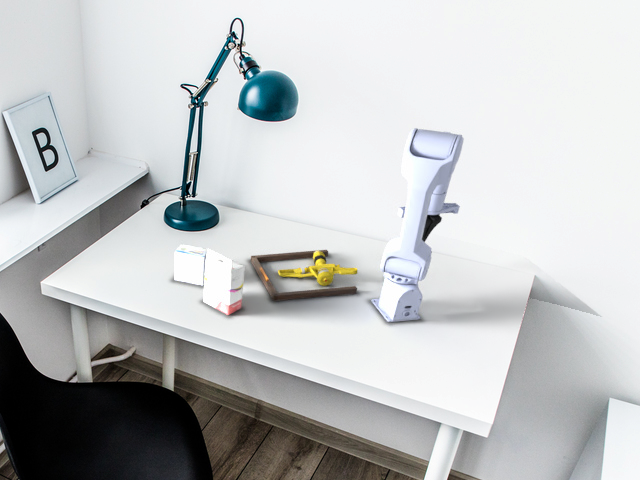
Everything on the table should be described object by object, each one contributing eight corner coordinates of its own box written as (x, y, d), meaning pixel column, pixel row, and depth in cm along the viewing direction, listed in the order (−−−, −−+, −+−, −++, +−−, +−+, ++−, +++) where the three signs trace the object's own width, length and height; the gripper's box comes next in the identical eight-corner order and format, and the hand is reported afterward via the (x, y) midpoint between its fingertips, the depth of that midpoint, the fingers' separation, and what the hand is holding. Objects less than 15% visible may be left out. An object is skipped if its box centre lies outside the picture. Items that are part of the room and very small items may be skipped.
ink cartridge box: (242, 308, 157) (247, 254, 149) (228, 316, 155) (232, 261, 146) (216, 294, 163) (220, 241, 154) (202, 301, 160) (205, 248, 151)
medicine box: (208, 278, 169) (210, 248, 164) (202, 286, 166) (204, 256, 161) (180, 272, 172) (181, 243, 167) (173, 280, 168) (174, 250, 163)
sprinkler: (349, 243, 173) (360, 270, 160) (349, 257, 175) (359, 285, 162) (275, 250, 176) (279, 277, 164) (275, 263, 178) (280, 291, 166)
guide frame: (356, 293, 162) (357, 287, 160) (273, 300, 160) (274, 294, 159) (325, 254, 178) (327, 248, 177) (250, 260, 176) (251, 254, 175)
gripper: (454, 181, 159) (439, 231, 167) (397, 185, 158) (385, 235, 166) (469, 192, 153) (454, 244, 162) (411, 197, 152) (398, 248, 160)
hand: (420, 240), depth 163 cm, fingers closed
